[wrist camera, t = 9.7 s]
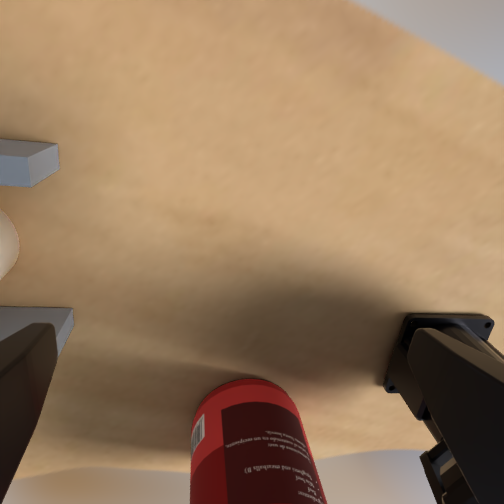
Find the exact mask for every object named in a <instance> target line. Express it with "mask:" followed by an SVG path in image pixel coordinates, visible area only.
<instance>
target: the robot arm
mask: <svg viewBox="0 0 504 504" xmlns="http://www.w3.org/2000/svg"><path fill="white" fill-rule="evenodd" d="M413 321H414V322H413ZM411 322H413V323H411ZM493 326H494V321H493V320H492V319H491V318H490V317H489V316H473V315H429V314H411V315H408V316H407V317H406V318H405V319H404V322H403V325H402V328H401V331H400V334H399V337H398V340H397V343H396V346H395V348H394V351H393V355H392V358H391V361H390V364H389V367H388V370H387V374H386V377H385V380H384V383H383V387H384V389H385V390H386V392H387V393H400V395H401V396H402V398H403V399H404V401H405V402H406V404H407V405H408V407H409V409H410V410H411V412H412V413H413V415H414V416H415V417H416V419H417V420H419V421H421V420H423V422H424V423H425V425H426V426H427V428H428V429H429V431H430V432H431V434H432V435H433V437H434V438H435V440H436V441H437V443H438V444H436V445H435V446H434V447H433V448H432V449H430V450H429V451H425V452H424V453H423V454H422V455H421V456H420V460H421V462H422V465H423V467H424V471H425V474H426V477H427V479H428V482H429V484H430V487H431V489H432V492H433V494H434V497H435V500H436V502H437V504H504V355H503V354H502V353H500V352H499V351H498V350H497V349H496V348H495V347H494V346H493V345H492V344H490V343H489V342H488V341H487V340H488V338H489V335H490V333H491V331H492V329H493ZM57 358H58V349H57V341H56V332H55V327H54V325H53V324H52V323H47V322H34V323H31V324H29V325H28V326H26V327H24V328H22V329H20V330H19V331H17V332H15V333H13V334H12V335H10V336H8V337H6V338H5V339H3V340H1V341H0V504H2V502H3V499H4V497H5V495H6V493H7V490H8V488H9V486H10V484H11V482H12V479H13V477H14V475H15V473H16V471H17V468H18V466H19V464H20V462H21V459H22V457H23V455H24V453H25V450H26V448H27V446H28V444H29V442H30V439H31V437H32V435H33V432H34V430H35V428H36V425H37V422H38V419H39V417H40V414H41V410H42V407H43V404H44V401H45V398H46V395H47V391H48V388H49V385H50V382H51V379H52V376H53V372H54V369H55V366H56V363H57Z"/></svg>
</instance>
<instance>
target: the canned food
mask: <svg viewBox="0 0 504 504" xmlns="http://www.w3.org/2000/svg"><path fill="white" fill-rule="evenodd" d="M190 484H191V485H190V504H327V501H326V498H325V495H324V492H323V489H322V486H321V482H320V479H319V476H318V473H317V470H316V466H315V463H314V460H313V457H312V453H311V450H310V447H309V444H308V441H307V438H306V434H305V431H304V428H303V425H302V422H301V418H300V415H299V412H298V410H297V408H296V405H295V404H294V402H293V401H292V400H291V398H290V397H289V396H288V395H287V393H286V392H285V391H284V390H283V389H281V388H280V387H279V386H277V385H275V384H273V383H271V382H268V381H264V380H260V379H241V380H236V381H232V382H229V383H227V384H224V385H222V386H220V387H218V388H217V389H215V390H213V391H212V392H211V393H210V394H209V395H207V396H206V397H205V399H204V400H203V401H202V402H201V404H200V406H199V408H198V410H197V412H196V415H195V417H194V420H193V424H192V429H191V479H190Z"/></svg>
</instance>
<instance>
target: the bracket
mask: <svg viewBox="0 0 504 504" xmlns="http://www.w3.org/2000/svg"><path fill="white" fill-rule="evenodd" d="M59 169H60V167H59V156H58V145H57V144H52V143H41V142H30V141H19V140H8V139H0V185H5V186H19V187H33V186H34V185H36V184H37V183H39V182H40V181H42V180H44V179H45V178H47V177H48V176H50V175H51V174H53V173H54V172H56V171H58V170H59ZM34 322H47V323H52V324H53V325H54V327H55V332H56V341H57V349H58V357H59V355H60V353H61V351H62V349H63V347H64V345H65V343H66V341H67V339H68V337H69V335H70V333H71V331H72V329H73V327H74V320H73V309H72V308H41V307H0V341H1V340H3V339H5V338H6V337H8V336H10V335H12V334H13V333H15V332H17V331H19V330H20V329H22V328H24V327H26V326H28V325H29V324H31V323H34ZM57 359H58V358H57Z"/></svg>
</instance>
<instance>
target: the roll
mask: <svg viewBox="0 0 504 504" xmlns="http://www.w3.org/2000/svg"><path fill="white" fill-rule="evenodd" d="M19 250H20V243H19V237H18V234H17V231H16V228H15V226H14V225H13V223H12V221H11V220H10V218H9V217H8V216H7V215H6V214H5V212H4V211H3V210H1V209H0V280H1V279H2V278H3V277H4V276H5V275H6V274H7V273H8V272H9V271H10V270H11V269H12V267H13V266H14V265H15V263H16V261H17V259H18V255H19Z"/></svg>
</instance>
